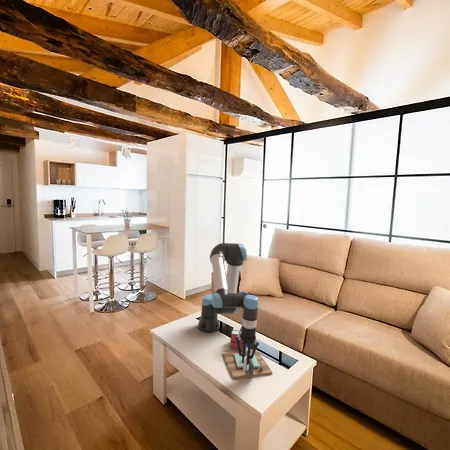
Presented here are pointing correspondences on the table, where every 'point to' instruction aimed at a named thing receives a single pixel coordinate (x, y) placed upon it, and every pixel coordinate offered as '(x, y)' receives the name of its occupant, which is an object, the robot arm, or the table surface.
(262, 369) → the stop dowel
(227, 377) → the table surface
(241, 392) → the table surface
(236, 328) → the puzzle cube
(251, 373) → the flange plate
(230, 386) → the table surface
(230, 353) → the board
